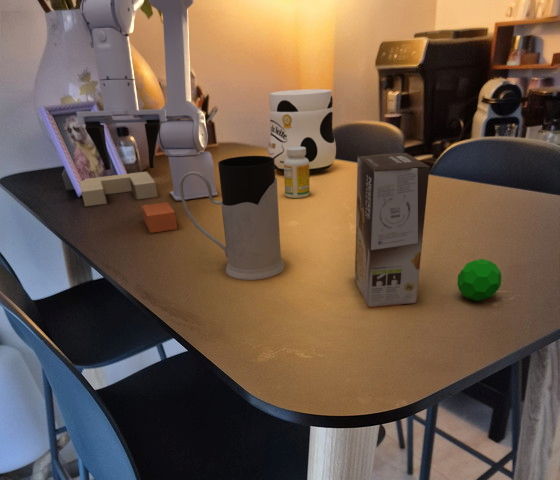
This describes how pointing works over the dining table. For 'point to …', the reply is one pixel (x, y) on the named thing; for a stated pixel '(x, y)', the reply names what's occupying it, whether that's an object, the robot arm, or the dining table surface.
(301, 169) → the supplement bottle
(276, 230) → the glass holder
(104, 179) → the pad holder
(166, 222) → the terracotta block
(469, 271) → the polyhedron
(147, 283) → the dining table surface
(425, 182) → the coffee box
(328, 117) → the milk container
